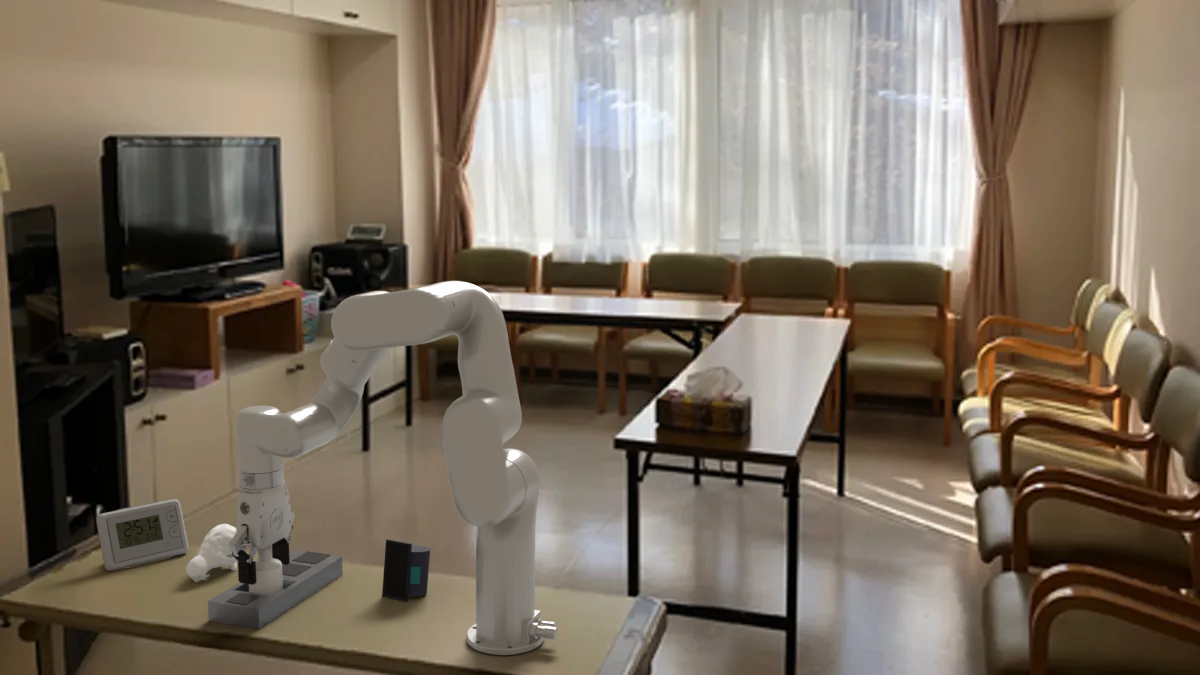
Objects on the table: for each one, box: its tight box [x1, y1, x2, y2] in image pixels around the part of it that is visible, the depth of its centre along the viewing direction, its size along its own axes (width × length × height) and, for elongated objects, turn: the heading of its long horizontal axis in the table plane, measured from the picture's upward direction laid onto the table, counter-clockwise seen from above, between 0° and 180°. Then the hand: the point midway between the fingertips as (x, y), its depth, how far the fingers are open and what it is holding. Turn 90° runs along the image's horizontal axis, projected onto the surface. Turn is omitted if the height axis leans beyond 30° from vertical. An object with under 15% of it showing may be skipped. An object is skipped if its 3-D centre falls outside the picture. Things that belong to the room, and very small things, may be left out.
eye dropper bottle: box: [249, 545, 283, 596], centre depth 189 cm, size 4×6×12 cm
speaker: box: [381, 539, 431, 602], centre depth 194 cm, size 8×6×10 cm
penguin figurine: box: [185, 523, 238, 583], centre depth 203 cm, size 6×8×12 cm
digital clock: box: [95, 498, 189, 572], centre depth 210 cm, size 16×9×11 cm, turn 122°
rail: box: [207, 549, 343, 630], centre depth 193 cm, size 10×26×4 cm, turn 162°
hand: (264, 573), depth 189 cm, fingers open, 9 cm apart
